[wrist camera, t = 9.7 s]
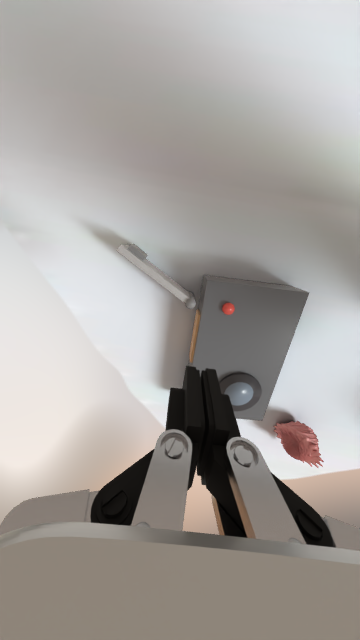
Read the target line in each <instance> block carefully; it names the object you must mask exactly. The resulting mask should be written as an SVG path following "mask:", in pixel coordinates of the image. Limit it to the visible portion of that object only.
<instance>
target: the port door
mask: <svg viewBox="0 0 360 640" xmlns="http://www.w3.org/2000/svg"><path fill="white" fill-rule="evenodd" d="M117 252H118V253H120V254H121V255H122V256H124V257H125V258H126V259H128V260H129V261H130V262H132V263H133V264H134V265H135V266H137V267H138V268H139V269H141V270H142V271H143V272H145V273H146V274H147V275H149V276H150V277H151V278H152V279H154V280H155V281H156V282H158V283H159V284H160V285H162V286H163V287H164V288H166V289H167V290H168V291H169V292H171V293H172V294H173V295H175V296H176V297H177V298H179V299H180V300H181V301H183V302H184V303H185V304H186V307H187V308H189V309H192V308H194V307H195V305H196V302H195V299H194V295H193V293H192V292H188V291H187V290H185V289H184V288H183V287H181V286H180V285H179V284H178V283H176V282H175V281H174V280H173V279H171V278H170V277H169V276H167V275H166V274H165V273H164V272H162V271H161V270H160V269H159V268H157V267H156V266H155V265H153V264H152V263H151V262H150V261H148V260H147V259H146V257H147V256H148V255H147V254H146V253H145V252H144V251H142V250H141V249H140V248H139V247H137V246H136V245H135V244H130V246H129V245H128V244H125V245H120V246H119V247H118V249H117Z"/></svg>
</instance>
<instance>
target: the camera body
mask: <svg viewBox="0 0 360 640" xmlns="http://www.w3.org/2000/svg"><path fill="white" fill-rule="evenodd" d="M308 295H309V292H306V291H303V290H301V289H298V288H295V287H293V286H287V285H279V284H271V283H263V282H256V281H248V280H240V279H232V278H224V277H216V276H208V275H203V281H202V287H201V293H200V299H199V305H198V309H197V310H196V316H195V322H194V328H193V334H192V340H191V346H190V352H189V357H190V359H189V365H188V366H193V367H196V370H199V371H200V376H201V372H202V370H204V371H205V369H206V368H209V369H215V370H216V373H217V377H218V381H219V385H220V389H221V394H227V395H229V397H230V401H231V404H232V408H233V411H234V415H235V418H238V419H250V420H261V421H262V420H263V417H264V414H265V412H266V409H267V406H268V403H269V401H270V398H271V395H272V393H273V390H274V387H275V384H276V382H277V379H278V376H279V374H280V371H281V368H282V365H283V363H284V360H285V357H286V355H287V352H288V349H289V346H290V344H291V341H292V338H293V336H294V333H295V330H296V327H297V325H298V322H299V319H300V316H301V314H302V311H303V308H304V306H305V303H306V300H307V297H308Z"/></svg>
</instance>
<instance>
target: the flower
mask: <svg viewBox="0 0 360 640" xmlns="http://www.w3.org/2000/svg"><path fill="white" fill-rule="evenodd" d="M276 424H277V425H278V426H274V427H275V428H276V430H274V431H275V432H276V433H278V435H277V436H276V437H278V438H280V439H281V444H283V447H284V449H285V450H286V452H287V453H288V454H289V455H290V456H291V457H293V458H295V459H297V460H300V461H303V463H304V461H305V462H307V463H308V464H310V466H311V467H312V465H311V463H312V464H314V465H315V466H316V467H317V468H318V466H317V465H316V463H318V464H319V465H321V464H320V462H319V461H322V462H324V461H323V460H322V459H321V458H320V456H319V455H321V454H320V453H319V447H318V443H317V442H318V439H317V438H316V437H317V436H316V435H315V434H314V432H313V430H312V429H311V428H309V427H308V426H306V425H305V424H304V423H302V424H301V423H300V422H298V421H297V422H293V421H291V422H290V423H286V424H283V423H281V424H278V423H276ZM321 466H322V465H321ZM322 467H323V466H322Z"/></svg>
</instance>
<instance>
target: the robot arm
mask: <svg viewBox="0 0 360 640" xmlns="http://www.w3.org/2000/svg"><path fill="white" fill-rule="evenodd" d="M196 466H197V475H198V476H201V480H202V485H206V488H207V489H208V490H209V491H210V493H211V494H212V503H213V508H214V512H215V516H216V521H217V526H218V530H219V535H215V534H205V533H195V532H186V531H182V529H183V520H184V513H185V505H186V496H187V491H188V490H189V488H190V487H191V486H192V482H193V478H194V474H195V470H196ZM0 640H360V528H358V527H356V526H353V525H350V524H348V523H345V522H342V521H340V520H337V519H334V518H332V517H329V516H325V517H324V518H323V517H321V516H320V515H319V514H318V513H317V512H316V511H315V510H314V509H313V508H312V507H311V506H309V505H308V504H307V503H306V502H305V501H304V500H302V499H301V498H300V497H299V496H298V495H297V494H295V493H294V492H293V491H292V490H291V489H290V488H289V487H287V486H286V485H285V484H284V483H283V482H282V481H280V480H279V479H278V478H277V477H276V476H275V475H273V474H272V473H271V472H270V470H269V468H268V466H267V464H266V462H265V460H264V458H263V456H262V454H261V452H260V451H259V449H258V448H257V447H256V446H255V445H254V444H253V443H252V442H251V441H249V440H248V439H245V438H243V437H241V436H240V432H239V429H238V425H237V422H236V418H235V415H234V411H233V408H232V404H231V401H230V397H229V395H227V394H221V389H220V385H219V381H218V377H217V373H216V370H215V369H209V368H206V369H205V371H204V370H202V372H201V376H200V371H199V370H196V367H193V366H186V370H185V376H184V382H183V388H182V389H178V388H171V389H170V396H169V404H168V412H167V421H166V431H165V432H163V433H162V434H161V435H160V436H159V438H158V440H157V443H156V447H155V449H153V450H152V451H151V452H149V453H148V454H147V455H145V456H144V457H143V458H141V459H140V460H139V461H137V462H136V463H135V464H133V465H132V466H131V467H129V468H128V469H127V470H125V471H124V472H123V473H121V474H120V475H118V476H117V477H116V478H114V479H113V480H112V481H110V482H109V483H108V484H106V485H105V486H104V487H103V488H102V489H101V490H100V491H94V492H89V489H88V490H82V491H75V492H69V493H63V494H57V495H51V496H44V497H38V498H32V499H29V500H26V501H23V502H22V503H20V504H19V505H17V506H16V507H14V508H13V509H12V510H11V511H10V512H9V513H8V515H7V516H6V517H5V518H4V520H3V522H2V523H1V525H0Z"/></svg>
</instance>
